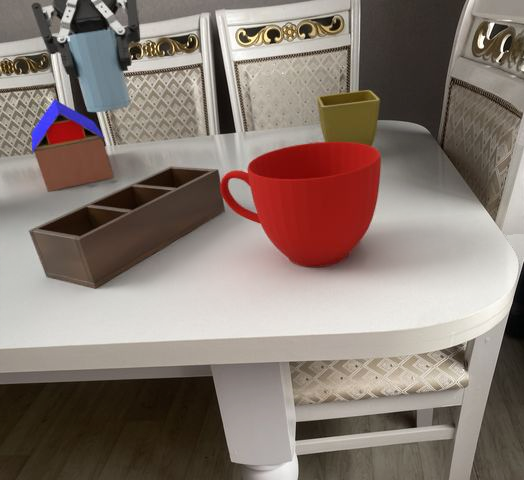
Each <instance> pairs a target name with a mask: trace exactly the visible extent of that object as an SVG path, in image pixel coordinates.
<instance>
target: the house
mask: <svg viewBox="0 0 524 480" xmlns="http://www.w3.org/2000/svg"><path fill="white" fill-rule="evenodd" d="M104 140H105V136H104V135H103V134H102V132H101V130H100V129H99V127H98V126H97V125H96V123H95V121H93V120H92V119H91V118H88V117H87V116H85V115H83V114H81V113H79V112H78V111H76V110H74V109H72V108H71V107H69V106H67V105H66V104H63V103H62V102H60V101H59V100H56V99H55V98H54V99H53V101H52V102H51V104H50V105H49V106H48V107H47V110H46V111H45V113H44V114H43V115H42V116H41V118H40V119H39V121H38V123H37V124H36V125H35V127H34V129H33V130H32V131H31V153H32V154H34V155H35V158H36V161H37V165H38V167H39V170H40V173H41V176H42V178H43V181H44V184H45V187H46V190H47V192H52V191H58V190H60V189H66V188H71V187H75V186H80V185H85V184H89V183H94V182H99V181H105V180H109V179H113V178H114V175H113V172H112V168H111V165H110V161H109V157H108V153H107V150H106V146H105V142H104Z"/></svg>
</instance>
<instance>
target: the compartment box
mask: <svg viewBox="0 0 524 480" xmlns="http://www.w3.org/2000/svg"><path fill="white" fill-rule="evenodd" d="M220 184H221V177H220V171H219V169H218V168H201V167H186V166H170V165H169V166H168V167H166V168H163V169H161V170H159V171H157V172H155V173H153V174H150V175H148V176H146V177H144V178H142V179H139V180H136V181H135V182H133V183H130V184H128V185H126V186H124V187H122V188H119V189H117V190H115V191H113V192H111V193H108V194H106V195H104V196H102V197H99V198H97V199H95V200H93V201H90V202H88V203H86V204H84V205H81V206H79V207H77V208H75V209H73V210H71V211H69V212H66V213H64V214H62V215H60V216H57V217H55V218H52V219H50V220H49V221H46V222H44V223H42V224H40V225H37V226H35V227H33V228H31V229H29V230H28V233H29V235H30V238H31V240H32V243H33V245H34V249H35V251H36V254H37V256H38V259H39V261H40V264H41V267H42V269H43V272H44V275H45V277H46V278H51V279H55V280H58V281H64V282H67V283H71V284H75V285H80V286H84V287H88V288H92V289H97V288H99V287H101V286H102V285H104V284H106V283H108V282H109V281H111V280H112V279H115V278H116V277H117V276H119V275H121V274H122V273H124V272H126V271H128V270H129V269H131V268H132V267H134V266H135V265H137V264H139V263H141V262H142V261H144V260H145V259H147V258H149V257H150V256H152V255H154V254H155V253H158V252H159V251H161V250H162V249H164V248H165V247H168V246H169V245H170V244H172V243H174V242H175V241H177V240H179V239H181V238H183V237H184V236H186V235H187V234H189V233H191V232H192V231H194V230H196V229H197V228H199V227H200V226H202V225H203V224H206V223H208V222H209V221H211V220H213V219H214V218H215V217H217V216H220V214H222V213H224V212H225V211H226V208H225V207H226V206H225V203H224V202H225V200H224V198H223V197H222V194H221V190H220Z"/></svg>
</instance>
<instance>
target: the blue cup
mask: <svg viewBox="0 0 524 480" xmlns="http://www.w3.org/2000/svg"><path fill="white" fill-rule="evenodd" d="M67 40H68V43H69V47H70V50H71V54H72V58H73V61H74V65H75V68H76V72H77V76H78V78H77V79H78V83H79V87H80V90H81V94H82V98H83V101H84V104H85V108H86V111H87V112H88V113H102V112H110V111H115V110H120V109H123V108H127V107H129V106H131V105H132V103H131V99H130V94H129V90H128V89H129V88H128V85H127V81H126V76H125V71H123V69H122V65H121V61H120V56H119V52H118V47H117V42H116V37H115V33H114V29H108V30H100V31H92V32H85V33H78V34H72V35H67Z"/></svg>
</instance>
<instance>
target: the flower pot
mask: <svg viewBox="0 0 524 480" xmlns="http://www.w3.org/2000/svg"><path fill="white" fill-rule="evenodd" d="M316 102H317V108H318V116H319V122H320V128H321V133H322V136H323V139H324V142H351V143H359V144H364V145H368V146H371V147H373V144H374V141H375V138H376V135H377V129H378V121H379V111H380V103H381V99H380V98H379V96H377V95H376V94H375V93H374V92H373V91H372V90H370V89H367V90H358V91H357V90H356V91H350V92H341V93H334V94H326V95H318V96H316Z"/></svg>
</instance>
